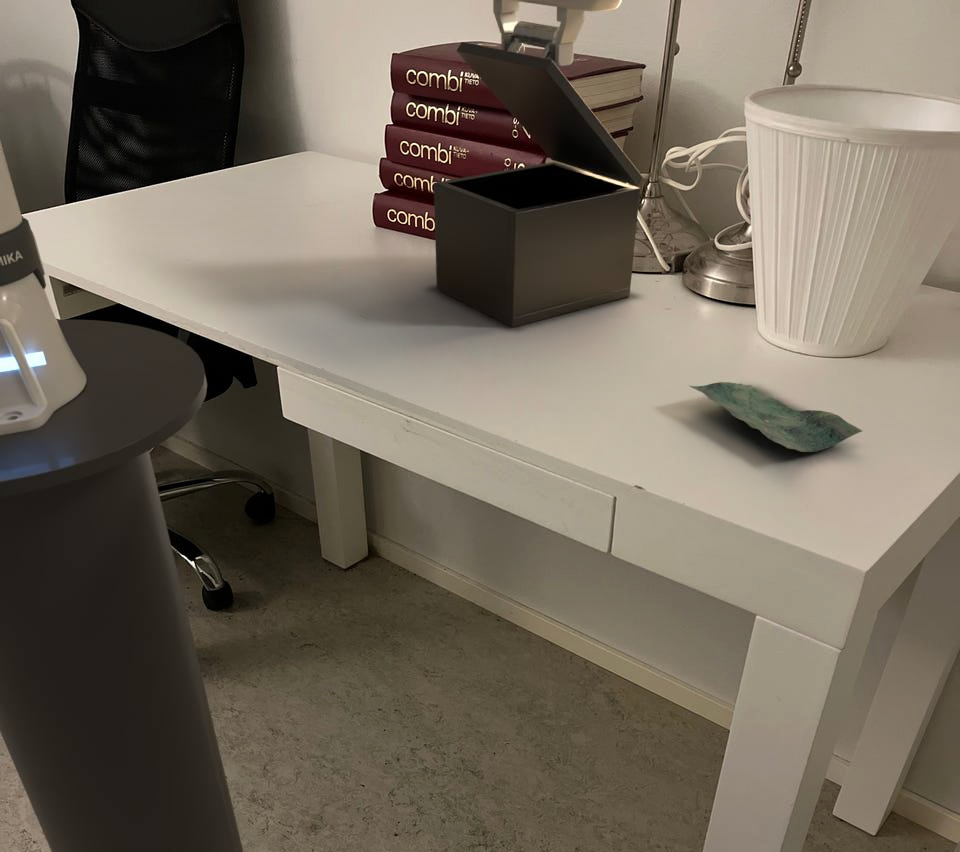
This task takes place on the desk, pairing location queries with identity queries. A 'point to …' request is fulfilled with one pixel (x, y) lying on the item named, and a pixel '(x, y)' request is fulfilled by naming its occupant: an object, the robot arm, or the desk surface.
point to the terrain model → (780, 418)
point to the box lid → (548, 103)
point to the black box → (534, 241)
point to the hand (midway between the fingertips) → (536, 59)
